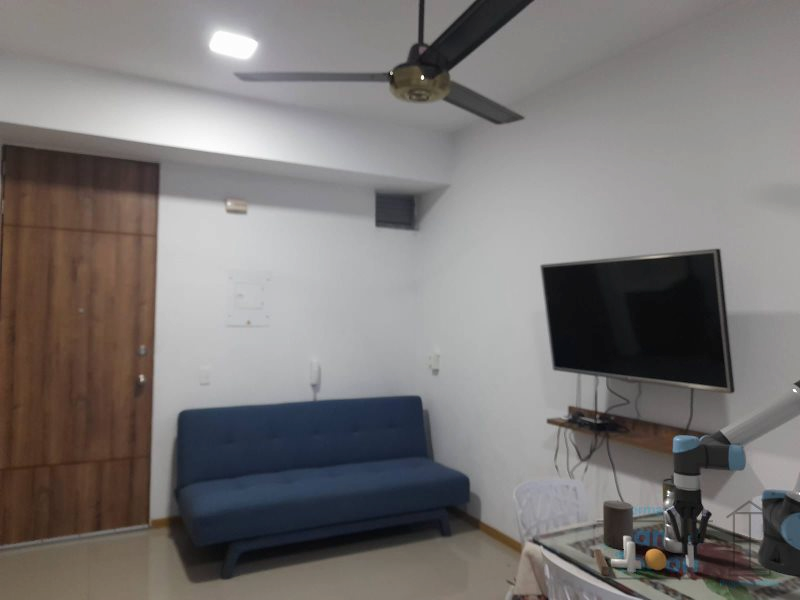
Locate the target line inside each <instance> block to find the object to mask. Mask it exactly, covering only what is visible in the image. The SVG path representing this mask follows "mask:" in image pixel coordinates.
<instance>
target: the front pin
mask: <svg viewBox="0 0 800 600" xmlns="http://www.w3.org/2000/svg"><path fill="white" fill-rule="evenodd" d="M635 561H636V570H642V562H641V560H637V559H635ZM610 566H611V568H619V569H627V560H624V558H623V559H620V558H610Z"/></svg>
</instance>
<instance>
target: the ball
mask: <svg viewBox="0 0 800 600" xmlns="http://www.w3.org/2000/svg"><path fill="white" fill-rule="evenodd" d="M645 553H646V554H645V557H644V558H645V559H644V560H645V562H646V565H647V566H648V567H649V568H650V569H653V570H655V571H661V570H663V569H664V568H665V567H666V565H667V557H666V555H665V553H663V551H662V550H660V549H657V548H651V549H648V550H647V551H646V552H645Z"/></svg>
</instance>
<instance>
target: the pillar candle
mask: <svg viewBox="0 0 800 600" xmlns="http://www.w3.org/2000/svg"><path fill="white" fill-rule="evenodd" d="M602 508H603V510H602V511H603V512H602V513H603V514H602V515H603V518H602V519H603V524H602V525H603V526H602V527H603V544H604V543H605V544H604V546H606V547H608V546H610V547H613V548H612V549H615V548H617V549H616V550H623V549H624V545H623V536H630V537H631V540H632V542H634V514H633V513H634V511H633V509H634V505H632V503H628V502H626V501H622V500H614V499H612V500H605V501H603V507H602ZM610 547H609V548H610Z"/></svg>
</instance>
